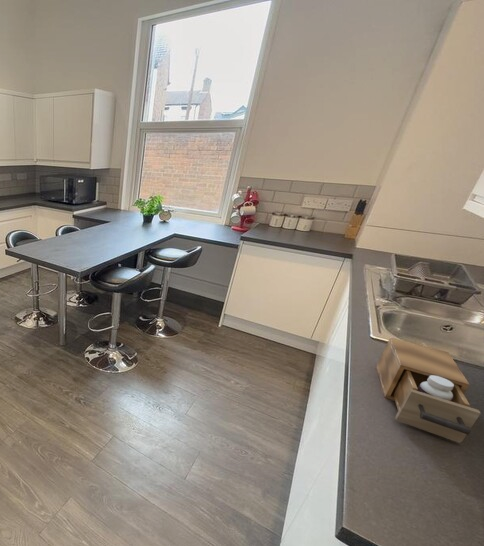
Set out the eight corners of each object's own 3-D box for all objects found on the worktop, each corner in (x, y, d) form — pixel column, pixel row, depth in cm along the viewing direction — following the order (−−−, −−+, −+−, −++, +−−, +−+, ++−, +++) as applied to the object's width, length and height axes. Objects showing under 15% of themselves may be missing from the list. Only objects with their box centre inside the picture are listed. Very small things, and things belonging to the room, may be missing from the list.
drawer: (468, 458, 66) (490, 427, 63) (399, 433, 72) (416, 403, 68) (441, 403, 80) (457, 376, 77) (385, 386, 86) (399, 359, 83)
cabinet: (448, 418, 77) (469, 384, 73) (384, 397, 83) (400, 364, 79) (430, 383, 89) (448, 352, 85) (375, 367, 95) (389, 337, 91)
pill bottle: (440, 424, 73) (459, 392, 69) (408, 411, 76) (425, 380, 73) (439, 412, 76) (457, 381, 73) (408, 400, 80) (425, 370, 76)
